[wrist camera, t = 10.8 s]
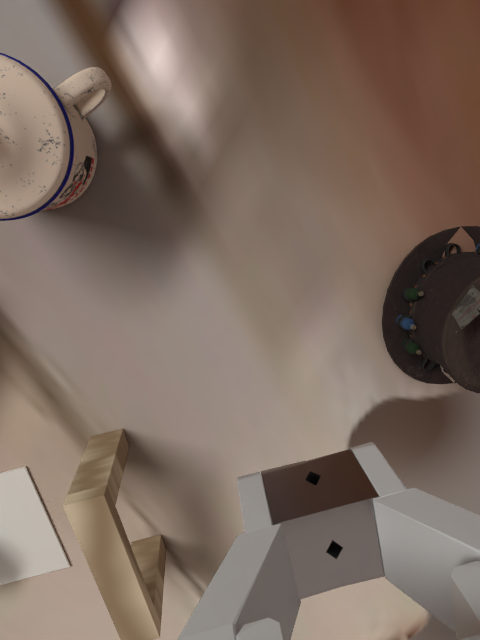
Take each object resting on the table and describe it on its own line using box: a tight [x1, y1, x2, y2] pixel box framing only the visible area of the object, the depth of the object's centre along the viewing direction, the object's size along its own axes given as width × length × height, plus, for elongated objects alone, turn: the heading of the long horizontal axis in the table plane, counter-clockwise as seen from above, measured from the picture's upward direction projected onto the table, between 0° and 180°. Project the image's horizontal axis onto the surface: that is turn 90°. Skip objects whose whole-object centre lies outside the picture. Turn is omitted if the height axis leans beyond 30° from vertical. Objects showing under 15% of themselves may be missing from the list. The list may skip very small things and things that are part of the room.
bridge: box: [63, 429, 166, 640], centre depth 39 cm, size 3×14×9 cm, turn 13°
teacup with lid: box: [0, 53, 111, 221], centre depth 28 cm, size 12×9×12 cm
